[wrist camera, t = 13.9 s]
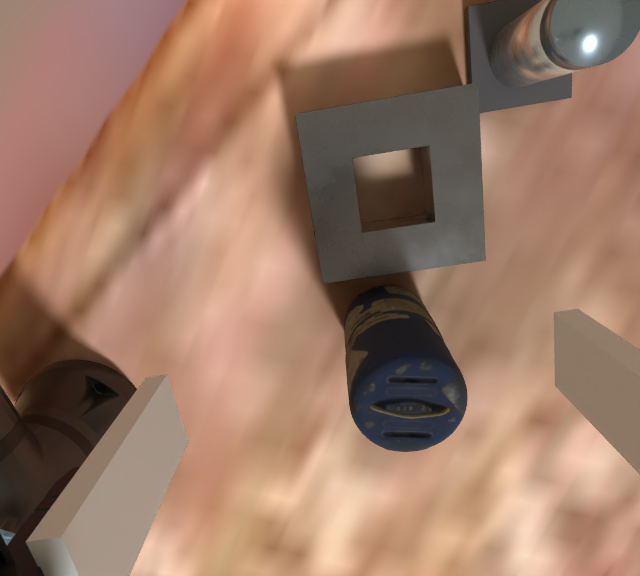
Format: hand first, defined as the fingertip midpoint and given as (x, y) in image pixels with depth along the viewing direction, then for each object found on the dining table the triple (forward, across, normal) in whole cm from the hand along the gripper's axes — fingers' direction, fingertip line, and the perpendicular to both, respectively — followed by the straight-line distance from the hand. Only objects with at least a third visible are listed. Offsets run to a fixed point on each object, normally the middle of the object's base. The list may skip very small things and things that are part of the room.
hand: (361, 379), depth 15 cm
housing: (+33, +6, +2) cm, 34 cm away
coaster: (+33, +19, +12) cm, 40 cm away
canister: (+34, +4, -13) cm, 36 cm away
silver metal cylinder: (+32, +19, +12) cm, 39 cm away
